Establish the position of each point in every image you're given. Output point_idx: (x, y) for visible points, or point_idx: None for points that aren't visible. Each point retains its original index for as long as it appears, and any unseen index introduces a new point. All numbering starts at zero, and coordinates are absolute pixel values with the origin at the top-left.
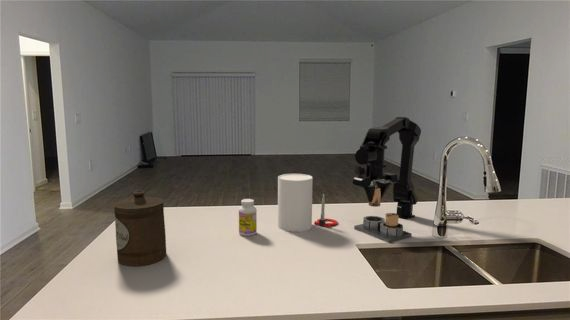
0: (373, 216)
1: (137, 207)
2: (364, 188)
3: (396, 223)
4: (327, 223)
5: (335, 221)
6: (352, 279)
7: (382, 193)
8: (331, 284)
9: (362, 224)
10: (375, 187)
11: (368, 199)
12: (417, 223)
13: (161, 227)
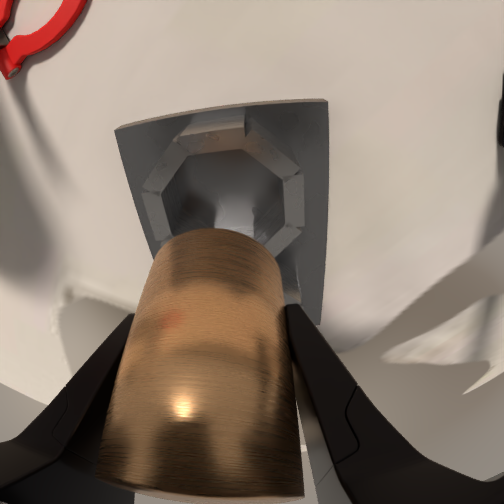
0: (263, 157)
1: None
2: (18, 443)
3: None
4: (12, 45)
5: (70, 1)
6: (42, 379)
7: (302, 424)
8: (16, 371)
9: (178, 125)
10: (201, 499)
11: (114, 336)
12: (480, 213)
13: None
